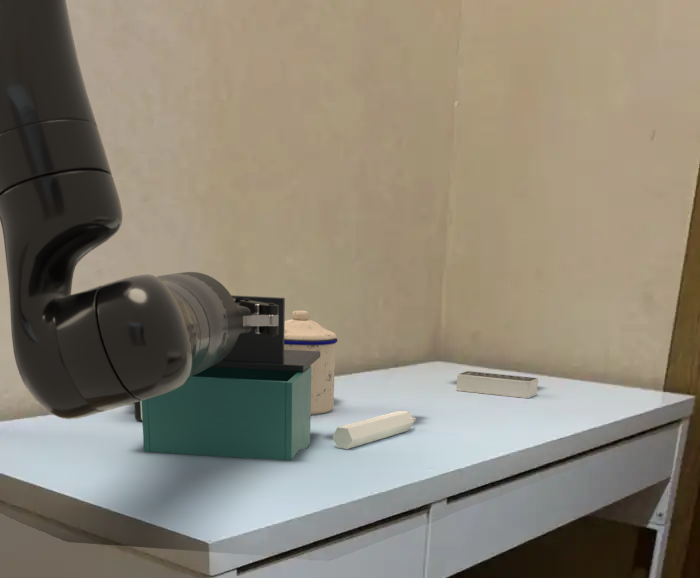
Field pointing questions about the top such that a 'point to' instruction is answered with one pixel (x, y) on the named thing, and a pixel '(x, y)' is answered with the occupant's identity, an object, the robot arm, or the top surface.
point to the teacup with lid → (317, 338)
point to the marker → (372, 429)
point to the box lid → (267, 347)
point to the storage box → (232, 414)
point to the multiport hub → (497, 384)
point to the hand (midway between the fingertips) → (230, 309)
